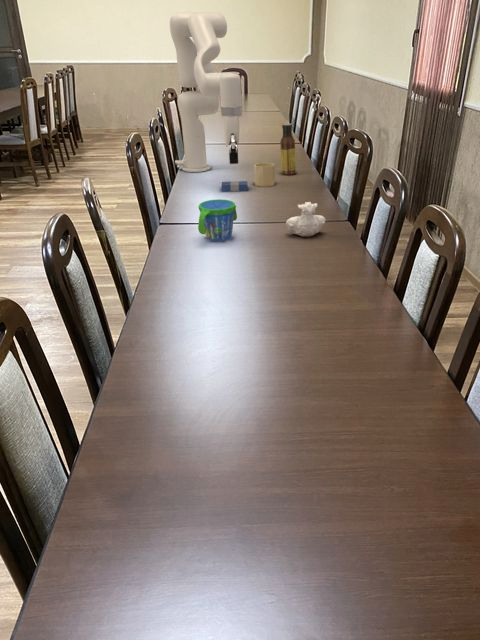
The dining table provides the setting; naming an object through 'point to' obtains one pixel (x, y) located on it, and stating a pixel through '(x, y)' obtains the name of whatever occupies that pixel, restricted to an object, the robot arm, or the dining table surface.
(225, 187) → the block
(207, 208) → the snack cup
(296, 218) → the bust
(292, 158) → the sauce bottle
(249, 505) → the dining table surface
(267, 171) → the beige cup
